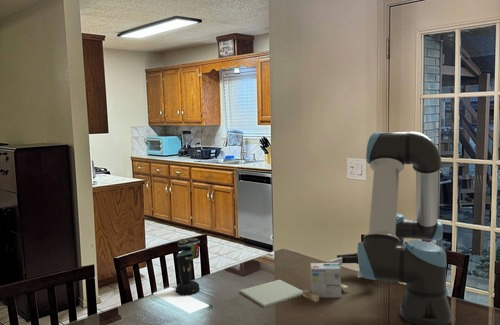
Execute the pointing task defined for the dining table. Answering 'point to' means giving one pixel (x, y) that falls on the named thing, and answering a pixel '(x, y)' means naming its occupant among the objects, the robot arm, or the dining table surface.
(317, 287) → the light bulb box
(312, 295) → the beige rectangular blocks
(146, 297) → the dining table surface
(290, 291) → the mat
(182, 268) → the cordless drill
